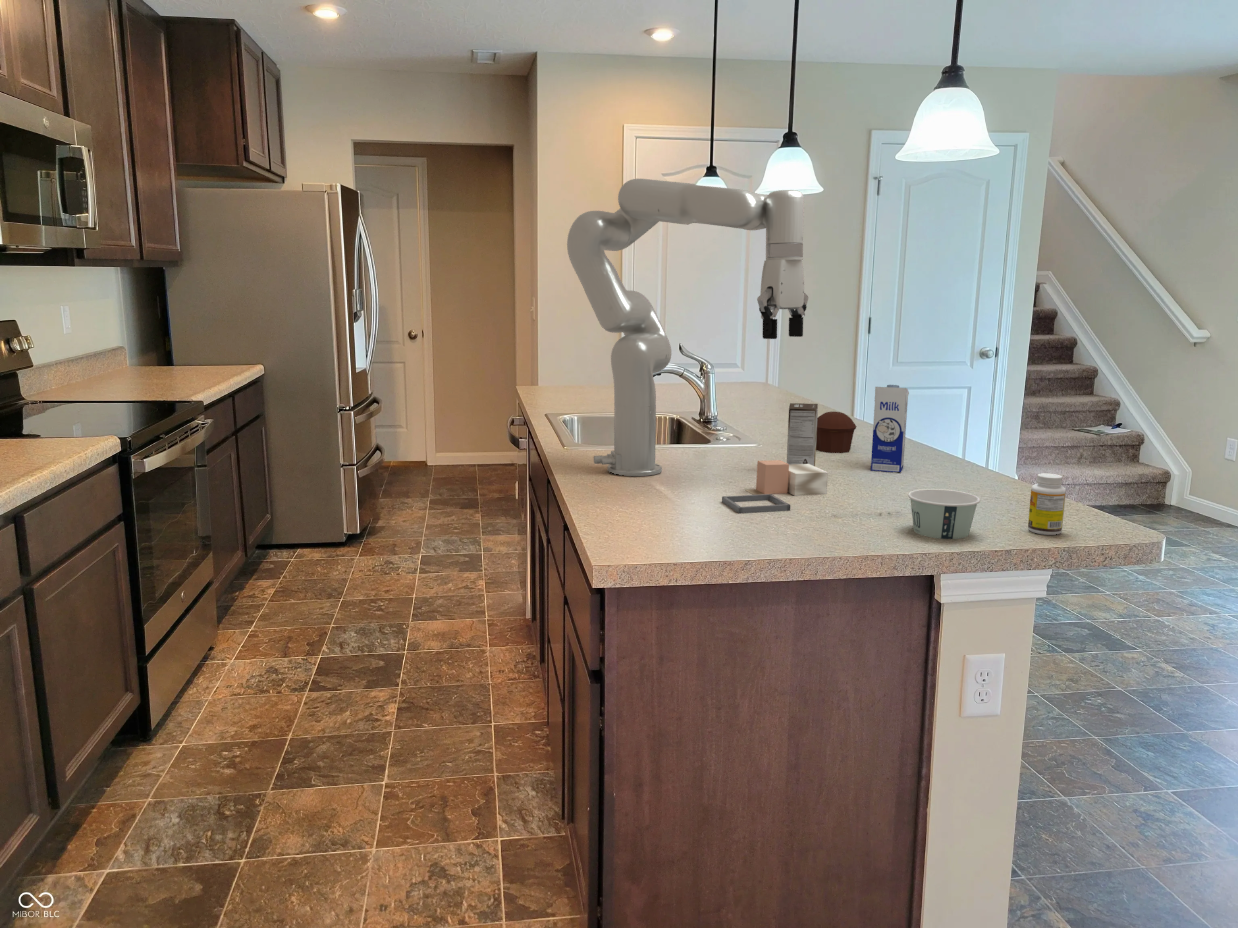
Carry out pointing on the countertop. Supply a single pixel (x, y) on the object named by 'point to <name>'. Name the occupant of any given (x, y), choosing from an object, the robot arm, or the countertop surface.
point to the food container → (942, 512)
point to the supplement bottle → (1047, 505)
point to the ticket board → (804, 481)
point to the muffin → (834, 432)
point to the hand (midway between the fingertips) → (783, 337)
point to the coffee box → (802, 433)
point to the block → (772, 477)
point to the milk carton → (889, 428)
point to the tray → (754, 509)
